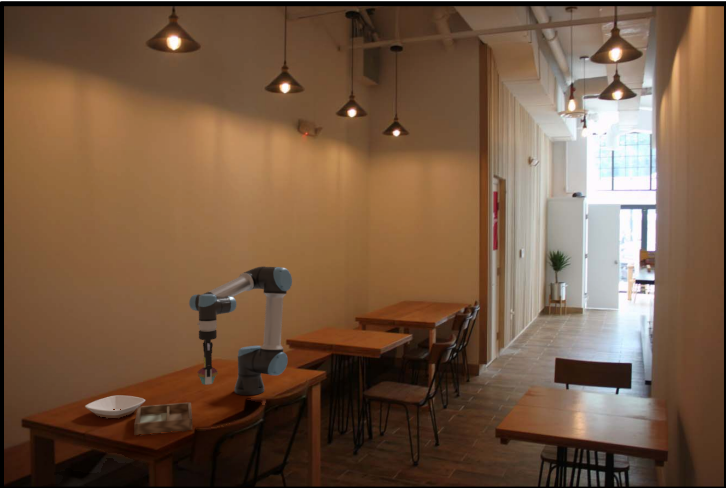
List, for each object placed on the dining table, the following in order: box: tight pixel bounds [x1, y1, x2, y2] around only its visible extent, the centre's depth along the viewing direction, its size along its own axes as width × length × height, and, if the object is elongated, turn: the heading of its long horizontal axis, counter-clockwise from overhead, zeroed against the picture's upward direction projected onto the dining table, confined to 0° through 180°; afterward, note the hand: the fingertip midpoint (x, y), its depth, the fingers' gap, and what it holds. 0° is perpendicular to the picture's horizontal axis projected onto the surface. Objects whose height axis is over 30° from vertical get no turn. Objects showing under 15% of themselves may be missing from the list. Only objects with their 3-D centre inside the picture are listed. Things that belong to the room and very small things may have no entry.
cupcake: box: [197, 356, 219, 386], centre depth 255 cm, size 9×8×12 cm
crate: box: [133, 402, 193, 435], centre depth 249 cm, size 22×24×5 cm
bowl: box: [84, 394, 146, 419], centre depth 262 cm, size 22×22×5 cm
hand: (207, 381), depth 255 cm, fingers closed on cupcake, 8 cm apart
